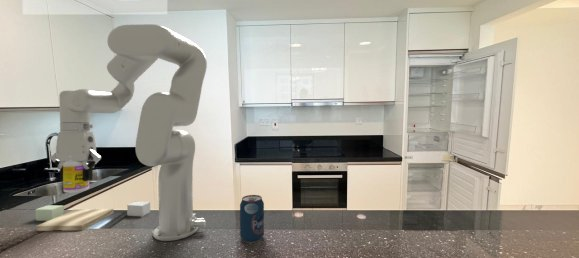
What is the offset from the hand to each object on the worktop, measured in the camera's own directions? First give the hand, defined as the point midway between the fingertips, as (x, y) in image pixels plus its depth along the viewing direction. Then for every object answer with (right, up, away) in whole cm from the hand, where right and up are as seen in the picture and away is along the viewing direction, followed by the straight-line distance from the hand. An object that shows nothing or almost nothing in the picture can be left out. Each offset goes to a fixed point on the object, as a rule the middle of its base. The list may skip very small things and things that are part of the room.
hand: (76, 179), depth 81 cm
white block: (+17, -14, +7) cm, 23 cm away
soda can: (+62, -15, -11) cm, 64 cm away
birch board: (0, -14, 0) cm, 14 cm away
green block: (-12, -14, +3) cm, 19 cm away
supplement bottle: (0, -4, 0) cm, 4 cm away
